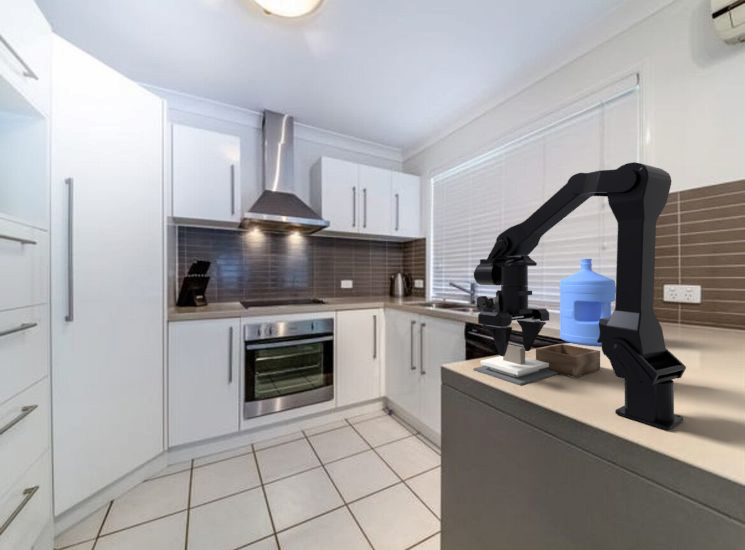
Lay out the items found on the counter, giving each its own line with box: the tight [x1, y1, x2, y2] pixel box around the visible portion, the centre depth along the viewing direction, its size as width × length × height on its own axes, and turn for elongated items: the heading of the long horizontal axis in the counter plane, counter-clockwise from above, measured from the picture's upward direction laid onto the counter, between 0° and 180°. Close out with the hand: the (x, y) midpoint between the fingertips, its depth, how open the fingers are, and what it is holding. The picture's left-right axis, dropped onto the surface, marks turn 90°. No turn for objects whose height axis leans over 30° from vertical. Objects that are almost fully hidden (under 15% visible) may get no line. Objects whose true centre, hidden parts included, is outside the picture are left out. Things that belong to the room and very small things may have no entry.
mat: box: [473, 365, 559, 386], centre depth 71 cm, size 14×12×1 cm
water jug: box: [559, 258, 616, 347], centre depth 104 cm, size 16×16×28 cm
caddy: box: [535, 343, 601, 378], centre depth 73 cm, size 11×9×4 cm
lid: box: [479, 343, 549, 377], centre depth 71 cm, size 12×10×6 cm
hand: (514, 353), depth 71 cm, fingers open, 9 cm apart
